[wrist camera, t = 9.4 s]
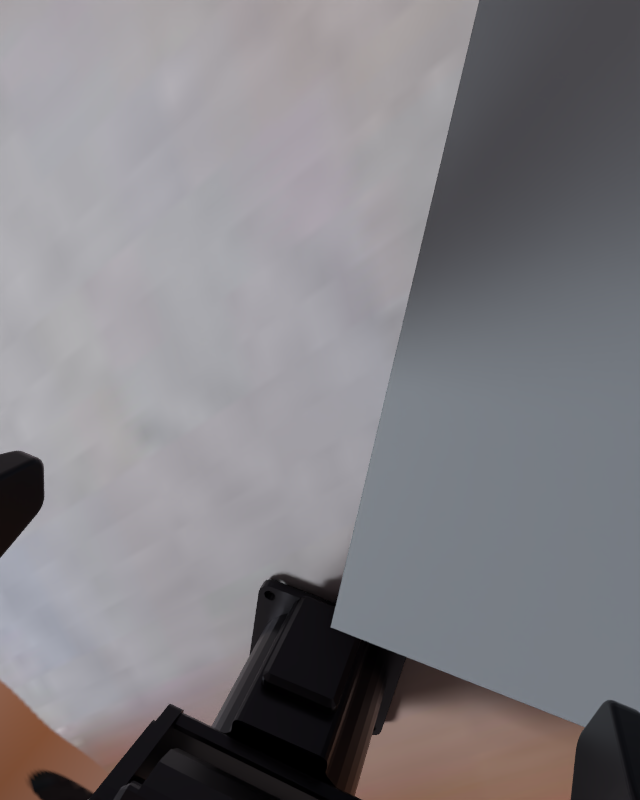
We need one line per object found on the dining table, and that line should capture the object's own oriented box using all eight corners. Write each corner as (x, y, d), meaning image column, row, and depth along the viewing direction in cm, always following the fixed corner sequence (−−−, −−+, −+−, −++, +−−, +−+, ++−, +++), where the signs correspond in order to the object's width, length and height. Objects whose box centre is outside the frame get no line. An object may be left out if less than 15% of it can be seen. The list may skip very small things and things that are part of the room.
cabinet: (645, 532, 19) (694, 770, 13) (402, 455, 21) (330, 627, 14) (999, -107, 11) (1641, -393, 5) (564, -149, 13) (574, -400, 6)
